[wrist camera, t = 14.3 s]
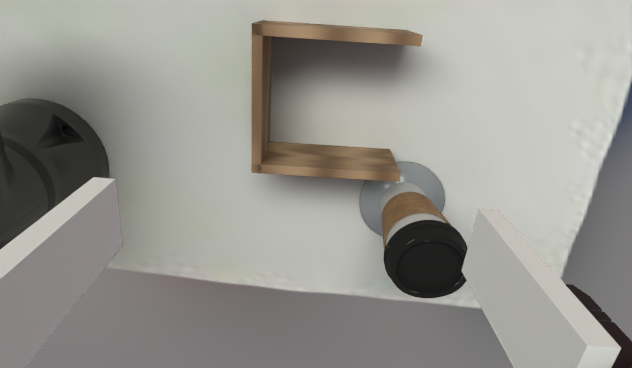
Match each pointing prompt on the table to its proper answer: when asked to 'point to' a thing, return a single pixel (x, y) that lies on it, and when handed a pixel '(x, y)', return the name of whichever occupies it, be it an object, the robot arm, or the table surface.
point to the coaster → (409, 173)
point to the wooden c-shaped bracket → (312, 156)
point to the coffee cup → (420, 244)
